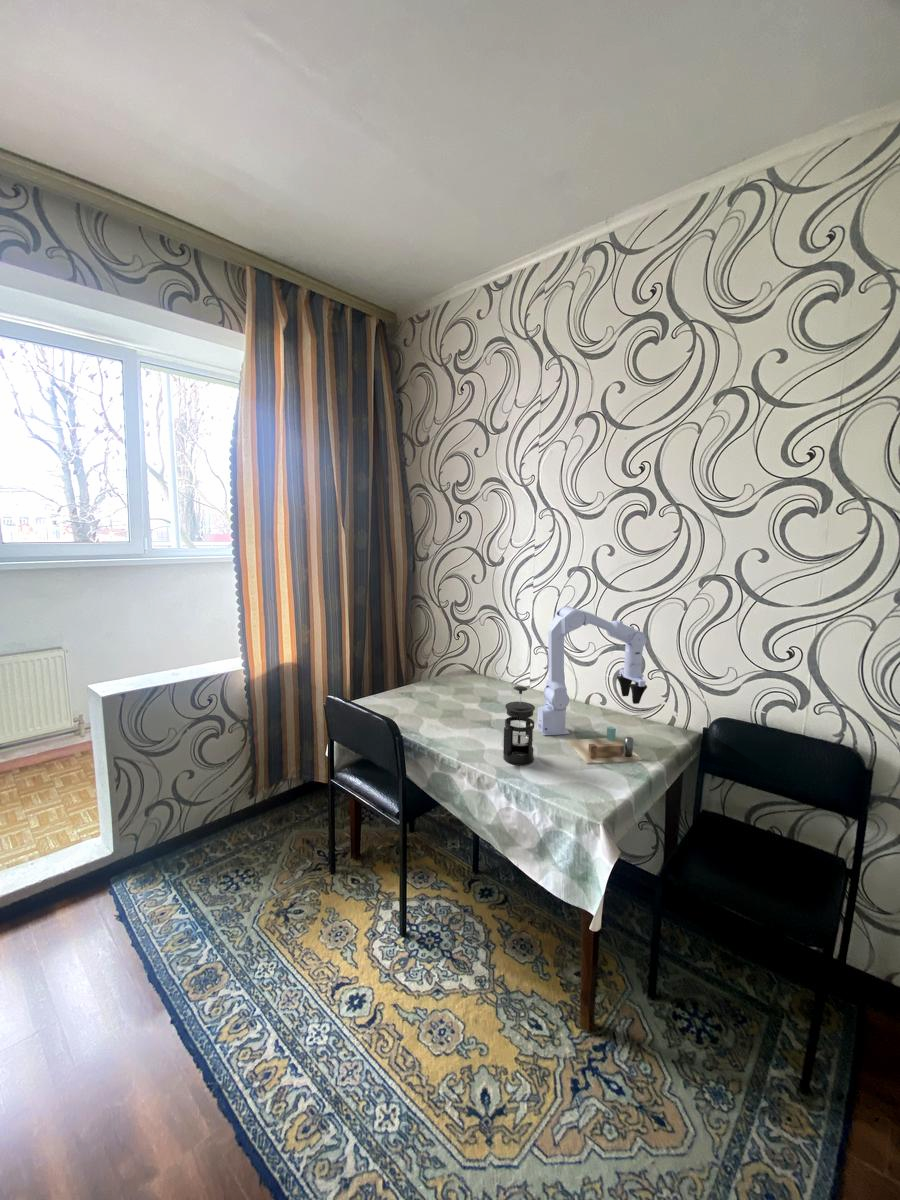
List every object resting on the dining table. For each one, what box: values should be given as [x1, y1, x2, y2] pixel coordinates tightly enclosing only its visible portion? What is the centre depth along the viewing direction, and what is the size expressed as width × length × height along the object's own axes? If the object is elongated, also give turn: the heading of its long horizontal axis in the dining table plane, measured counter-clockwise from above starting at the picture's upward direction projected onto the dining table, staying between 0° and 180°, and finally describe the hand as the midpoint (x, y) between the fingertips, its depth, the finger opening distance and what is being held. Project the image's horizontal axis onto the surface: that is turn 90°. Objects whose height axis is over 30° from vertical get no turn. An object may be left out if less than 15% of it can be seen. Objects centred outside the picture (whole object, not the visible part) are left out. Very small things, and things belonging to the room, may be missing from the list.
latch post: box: [606, 726, 617, 741], centre depth 165 cm, size 2×2×4 cm
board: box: [566, 736, 643, 765], centre depth 158 cm, size 18×16×1 cm
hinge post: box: [624, 736, 634, 757], centre depth 153 cm, size 2×2×6 cm
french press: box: [502, 685, 536, 767], centre depth 150 cm, size 12×9×23 cm
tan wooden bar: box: [588, 743, 624, 758], centre depth 152 cm, size 11×2×4 cm, turn 98°
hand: (630, 699), depth 175 cm, fingers open, 7 cm apart
